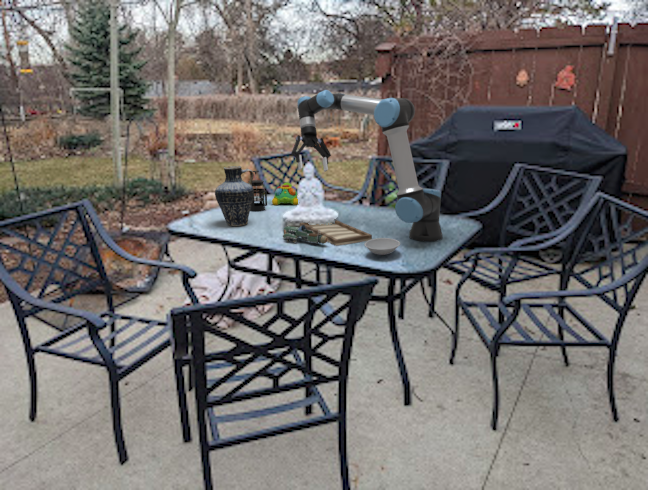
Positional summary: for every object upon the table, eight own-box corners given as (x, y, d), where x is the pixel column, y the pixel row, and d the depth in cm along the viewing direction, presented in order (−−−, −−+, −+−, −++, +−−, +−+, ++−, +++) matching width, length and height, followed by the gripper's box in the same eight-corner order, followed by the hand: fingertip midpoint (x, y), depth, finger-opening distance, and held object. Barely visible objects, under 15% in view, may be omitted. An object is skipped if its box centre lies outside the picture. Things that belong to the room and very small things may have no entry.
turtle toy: (300, 199, 324) (300, 181, 320) (299, 206, 301) (298, 187, 298) (274, 199, 324) (273, 181, 320) (271, 206, 301) (270, 187, 298)
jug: (228, 231, 246) (225, 170, 238) (210, 224, 261) (206, 166, 252) (264, 224, 259) (261, 166, 250) (244, 218, 273) (241, 163, 265)
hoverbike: (290, 236, 237) (290, 219, 235) (333, 244, 223) (333, 226, 221) (277, 241, 230) (276, 223, 228) (321, 250, 216) (321, 231, 214)
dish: (390, 263, 198) (390, 251, 196) (357, 258, 204) (357, 246, 203) (405, 251, 213) (406, 240, 211) (374, 247, 219) (374, 236, 218)
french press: (245, 210, 291) (243, 171, 284) (253, 207, 299) (251, 169, 292) (262, 212, 286) (261, 172, 279) (270, 209, 294) (269, 170, 288)
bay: (371, 240, 230) (371, 234, 229) (336, 245, 221) (336, 240, 220) (332, 223, 261) (332, 218, 260) (299, 227, 252) (299, 222, 252)
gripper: (327, 134, 249) (332, 174, 245) (281, 129, 237) (286, 171, 233) (334, 127, 243) (339, 168, 239) (287, 122, 231) (293, 165, 227)
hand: (313, 169), depth 236 cm, fingers open, 13 cm apart
